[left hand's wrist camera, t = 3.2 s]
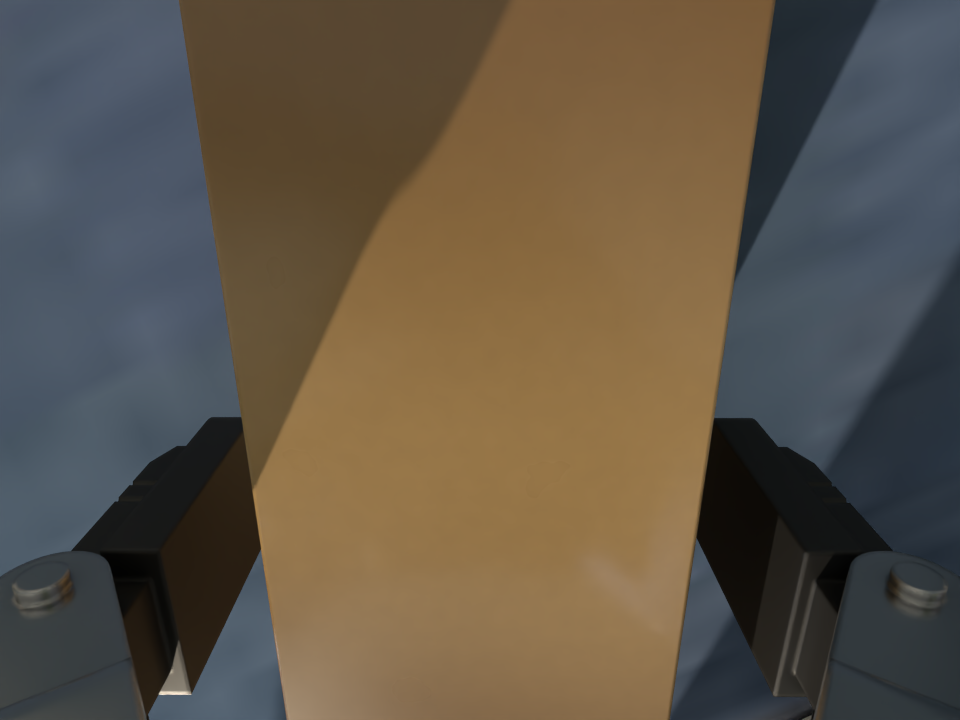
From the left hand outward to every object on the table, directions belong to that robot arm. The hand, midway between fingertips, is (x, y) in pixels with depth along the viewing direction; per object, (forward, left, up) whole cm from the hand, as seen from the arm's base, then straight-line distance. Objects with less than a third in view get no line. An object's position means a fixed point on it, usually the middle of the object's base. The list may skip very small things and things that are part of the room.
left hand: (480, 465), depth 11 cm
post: (-16, +18, -4) cm, 24 cm away
